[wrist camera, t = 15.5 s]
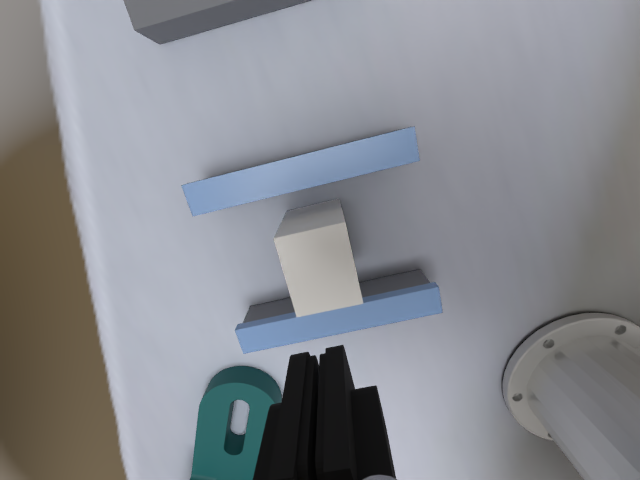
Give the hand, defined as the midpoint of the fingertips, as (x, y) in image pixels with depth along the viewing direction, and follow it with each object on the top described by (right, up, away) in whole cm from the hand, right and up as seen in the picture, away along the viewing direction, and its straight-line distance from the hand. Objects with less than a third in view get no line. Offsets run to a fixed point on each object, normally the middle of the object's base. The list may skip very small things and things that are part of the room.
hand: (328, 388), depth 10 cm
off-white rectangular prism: (0, +5, +15) cm, 16 cm away
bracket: (-8, -15, +22) cm, 27 cm away
